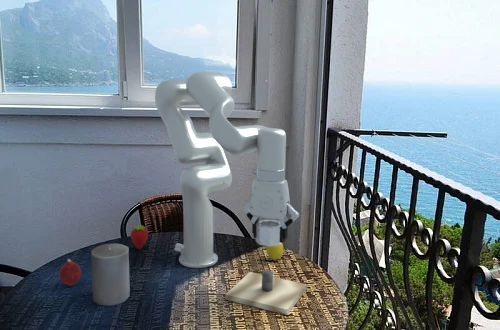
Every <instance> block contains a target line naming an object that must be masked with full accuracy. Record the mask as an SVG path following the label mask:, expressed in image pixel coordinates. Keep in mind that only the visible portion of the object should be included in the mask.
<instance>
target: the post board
mask: <svg viewBox="0 0 500 330" xmlns="http://www.w3.org/2000/svg"><path fill="white" fill-rule="evenodd" d="M261 273H262V274H261ZM261 273H256V272H251V271H249V272H247V274H246V275H245V276H244V277H243V278H242V279H241V280H240V281H238V282H237V283H236V284H234V286H233V287H231V289H229V291H227V292H225V297H224V298H225V301H227V300H228V301H230V302H234V303H239V304H243V305H246V306H250V307H254V308H259V309H262V310H266V311H270V312H274V313H276V314H277V313H278V314H283V315H286V316H287V315H289V314H290V312H291V310H292V309H293V308H294V307H295V305H296V304H297V302H299V300H300V299H301V297H302V296H303V295H304V293H305V292H306V290H307V289H308V285H307V284H306V283H301V282H299V281H294V280H293V281H292V280H288V279H283V278H279V277H275V276H274V272H273V271H272V270H268V269H266V270H262V272H261Z"/></svg>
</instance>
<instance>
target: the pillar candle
mask: <svg viewBox="0 0 500 330" xmlns="http://www.w3.org/2000/svg"><path fill="white" fill-rule="evenodd" d="M129 248H130V247H128V246H126V245H124V244H121V243H106V244H101V245H97V246H96V247H94V248H92V250H91V252H90V253H91V254H90V255H91V281H92V283H91V284H92V301H93V302H94V303H95V304H97V305H98V306H99V305H100V306H105V307H107V306H108V307H109V306H115V305H116V306H117V305H120V304H123V303H125V302H126V300H127V299H129V297H130V295H131V292H130V291H131V288H130V287H131V286H130V263H129V262H130V259H129V257H130V256H129V255H130V253H129V251H130V250H129Z"/></svg>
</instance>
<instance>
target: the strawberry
mask: <svg viewBox="0 0 500 330" xmlns="http://www.w3.org/2000/svg"><path fill="white" fill-rule="evenodd" d="M148 237H149V232H148V227H147V226H144V224H143V225H140V224H138V225H136V226H133V227H132V230H131V231H130V238H131V242H132V243H133V244H134V246H135V247H136V248H137V249H138V250H141V249H142V248H143V247H144V245H145V244H146V242H147V240H148Z"/></svg>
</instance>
